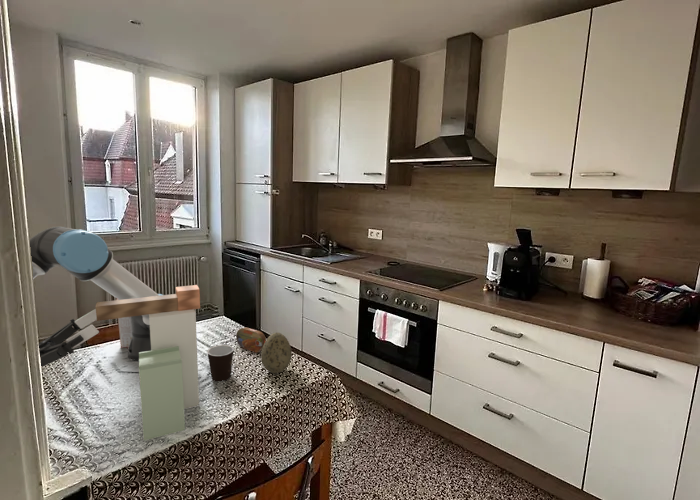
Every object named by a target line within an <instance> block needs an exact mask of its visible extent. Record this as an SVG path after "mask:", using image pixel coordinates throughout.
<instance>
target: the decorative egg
mask: <svg viewBox="0 0 700 500" xmlns="http://www.w3.org/2000/svg"><path fill="white" fill-rule="evenodd" d="M260 352H261V353H260V355H261V357H260V358H261V359H260V360H261V364H262V366H263V367H264V369H265V370H266V371H267V372H270V373H272V374H279V373H282V372H283V371H285V370H286V369H287V368H288V367H289V366H290V364H291V360H292V355H293V354H292V347H291V345H290V342H289V340H288V339H287V337H286V336H285V334H282V333H281V332H273V333H271V334H270V335H269V336H268V337H267V338H266V341H265V343H264V345H263V348H262V351H260Z"/></svg>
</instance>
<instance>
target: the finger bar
mask: <svg viewBox="0 0 700 500" xmlns="http://www.w3.org/2000/svg"><path fill="white" fill-rule="evenodd" d="M200 293H201V292H200V287H199V286H198V284H195V285H193V284H191V285H183V286H176V287H175V293H172V294H162V295H161V296H151V297H142V298H133V299H123V300H116V299H114V300H108V301H107V300H106V301H97V302H96V304H95V309H96V317H97V320H96V322H99V321H107V320H115V319H118V318H124V317H132V316H140V315H148V314H156V313H164V312H172V311H184V310H192V309H195V310H197V309H201V296H200Z"/></svg>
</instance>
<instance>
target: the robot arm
mask: <svg viewBox="0 0 700 500" xmlns="http://www.w3.org/2000/svg"><path fill="white" fill-rule="evenodd" d="M29 239H30V247H31V256H32V266H33V280H34V279H35V278H36V277H38V276H43V275H44V276H45V274H47V273H48V272H50V270H52V269H54V268H55V267H57V268H61V269H62V270H64V271H66V272H68V274H70V275H72V276H73V277H74V278H77V279H78V280H79V281H81V282H87V281H89V282H90V281H91V282H92V283H94V284H95V285H97V286H98V287H99V288H101V289H102V290H104V291H105V292H106V293H108V294H110V295H111V296H113V297H114V298H115V299H118V300H123V299H133V298H142V297H151V296H161V295H163V294H162V293H157V292H156V291H154V290H153V289H152V288H151V287H150V286H148V285H147V284H146V283H144V282H143V281H141V280H140V279H139V278H138V277H137V276H135V275H134V274H133V273H132V272H130V271H129V270H127V269H126V268H125V267H123V265H121V264H120V263H119V262H117V260H115V259H114V254H113V251H112V250H110V249H109V247H108V245H107V243H106V241H105V240H104V239H103V238H102V237H100V235H97V234H96V233H94V232H92V231H90V230H85V229H75V228H70V227H66V226H51V227H48V228H45V229H44V230H41V231H40V232H38V233H36V234H35V235H34V236H32V237H30V238H29ZM69 321H70V322H69V323H67V324H65V325H64V326H62V327H61V328H59V330H57V331H56V332H54V333H53V334H52V335H51V334H50V336H49V337H47V338H45V339H44V340H42V341H41V342H39V343H38V344H39V348H40V356H41V366H42V368H43V367H45V366H47V365H50V364H52V363H53V362H56V361H58V360H61V359H62V358H65V357H67V356H68V355H72V354H74V352H75V350H74V349H75V348H76V347H78V346H80V345H82V344H83V343H85V342H86V341H88V340H90V339H91V338H93V337H95V336H96V335H97V334H99V333H100V331H99V330H98V328H97V327H95V326H94V324H93V322H95V321H97V317H96V308H94V309H93V310H91V311H89V312H87V313H86V314H84V315H83V316H81V317H79V318H78V319H76V320H75V319H74V318H72V319H70V320H69ZM131 327H132V339H131V342H130V346H129V348H128V350H127V357H128V359H130V360H132V361H135V362H139V352H145V351H151V339H150V323H149V314H148V315H140V316H132V317H131ZM79 330H80V331H79ZM77 331H78V332H77Z"/></svg>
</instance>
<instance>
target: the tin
mask: <svg viewBox="0 0 700 500" xmlns="http://www.w3.org/2000/svg"><path fill="white" fill-rule="evenodd" d="M235 337H236V342H237V344H238V346H239V347H240V348H242V349H243V350H247V351H251V352H253V353H256V354H257V353H260V352H262V348H263V345H264V343H265V341H266V340H267V338H266V336H265V334H264V333H263V332H262V331H260V330H257V329H254V328H249V327H242V328H239V329H238V330H237V331H236V336H235Z"/></svg>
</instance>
